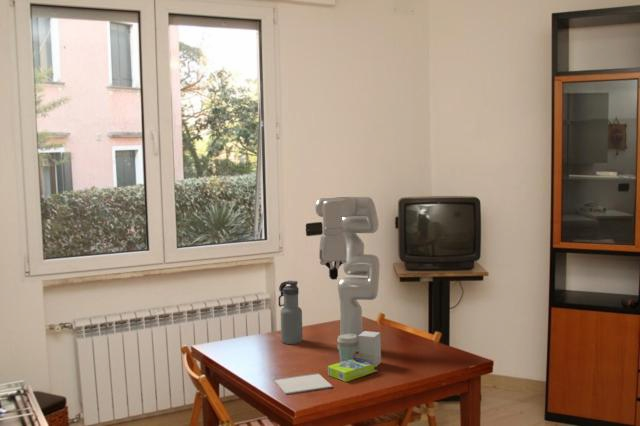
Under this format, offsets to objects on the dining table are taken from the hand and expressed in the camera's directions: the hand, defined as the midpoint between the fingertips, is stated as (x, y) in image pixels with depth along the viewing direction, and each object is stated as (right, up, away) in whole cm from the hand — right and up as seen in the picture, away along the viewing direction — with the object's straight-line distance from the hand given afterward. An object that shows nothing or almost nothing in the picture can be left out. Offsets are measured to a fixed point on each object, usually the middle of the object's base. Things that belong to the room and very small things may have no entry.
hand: (333, 278), depth 253 cm
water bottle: (-18, -34, +46) cm, 60 cm away
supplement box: (+15, -36, +12) cm, 41 cm away
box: (+1, -36, -5) cm, 36 cm away
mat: (-12, -38, -10) cm, 41 cm away
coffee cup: (+6, -36, +12) cm, 39 cm away
